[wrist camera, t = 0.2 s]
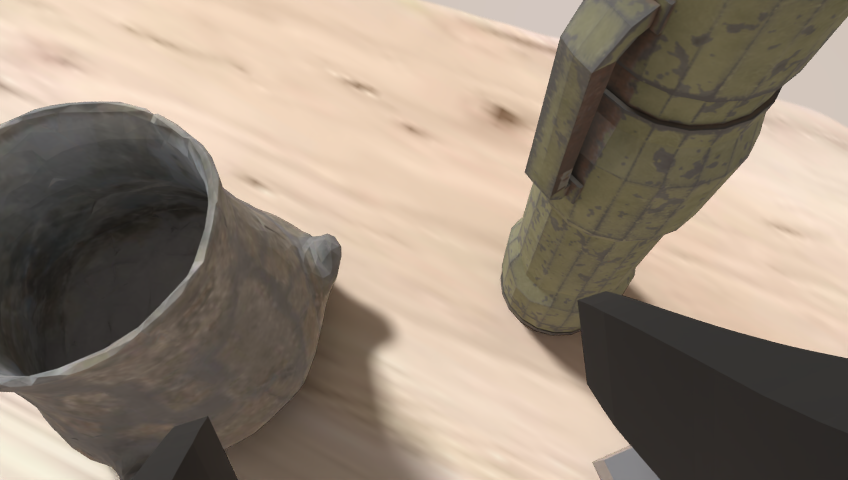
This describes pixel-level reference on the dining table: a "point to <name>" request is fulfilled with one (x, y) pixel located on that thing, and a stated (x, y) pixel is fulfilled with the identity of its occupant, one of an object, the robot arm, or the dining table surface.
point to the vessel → (146, 285)
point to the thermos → (644, 135)
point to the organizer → (624, 466)
